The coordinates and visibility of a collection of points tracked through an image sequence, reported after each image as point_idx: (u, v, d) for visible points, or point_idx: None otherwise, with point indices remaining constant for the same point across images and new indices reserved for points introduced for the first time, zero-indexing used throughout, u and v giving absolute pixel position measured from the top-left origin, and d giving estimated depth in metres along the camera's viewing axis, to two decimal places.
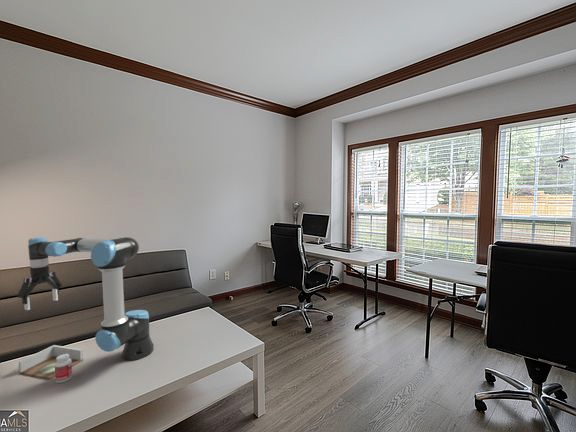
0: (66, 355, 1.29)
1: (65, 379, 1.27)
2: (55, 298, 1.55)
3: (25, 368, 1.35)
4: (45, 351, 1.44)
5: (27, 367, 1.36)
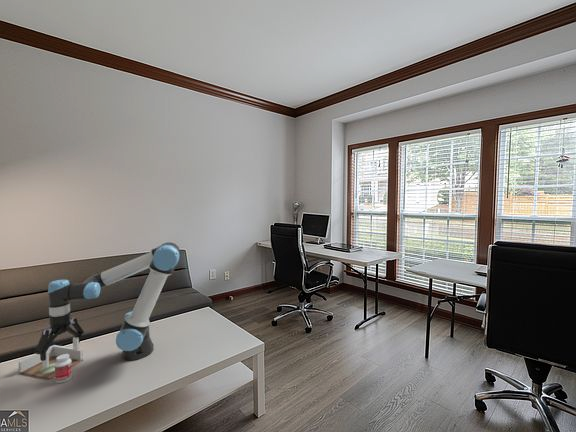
0: (66, 355, 1.29)
1: (65, 379, 1.27)
2: (76, 348, 1.35)
3: (25, 368, 1.35)
4: None
5: (27, 367, 1.36)
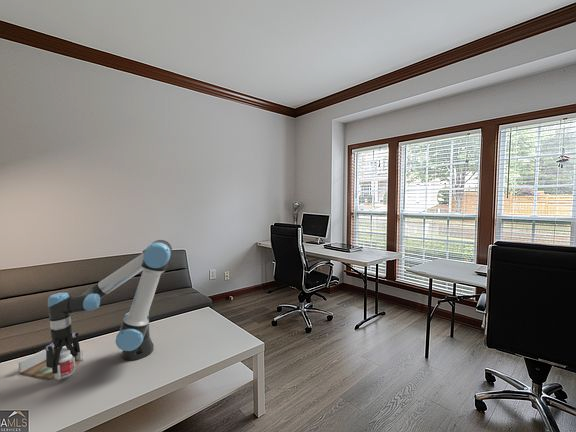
0: (67, 351, 1.29)
1: (67, 375, 1.27)
2: None
3: (25, 368, 1.35)
4: (45, 351, 1.44)
5: (27, 367, 1.36)
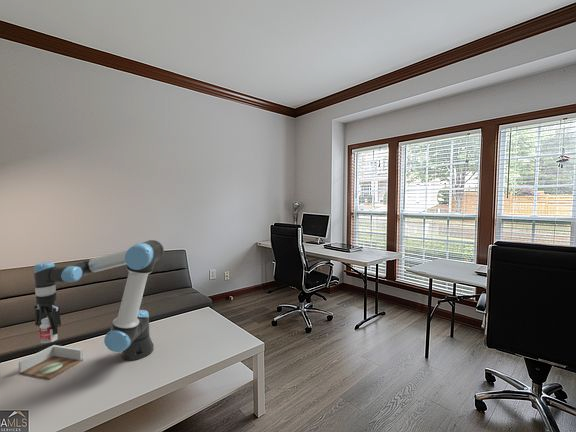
0: (47, 319, 1.34)
1: (40, 340, 1.33)
2: None
3: (25, 368, 1.35)
4: (45, 351, 1.44)
5: (27, 367, 1.36)
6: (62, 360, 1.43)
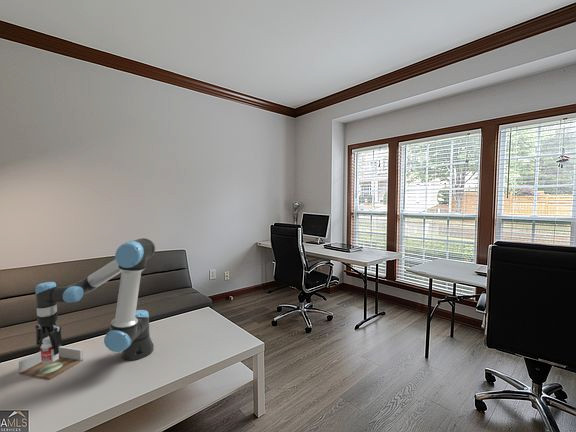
0: (48, 339, 1.35)
1: (41, 360, 1.34)
2: None
3: (25, 368, 1.35)
4: None
5: (27, 367, 1.36)
6: (62, 360, 1.43)
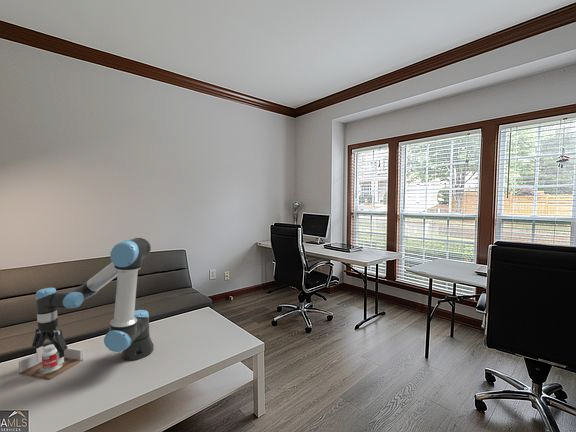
0: (49, 347, 1.35)
1: None
2: None
3: (25, 368, 1.35)
4: None
5: (27, 367, 1.36)
6: None
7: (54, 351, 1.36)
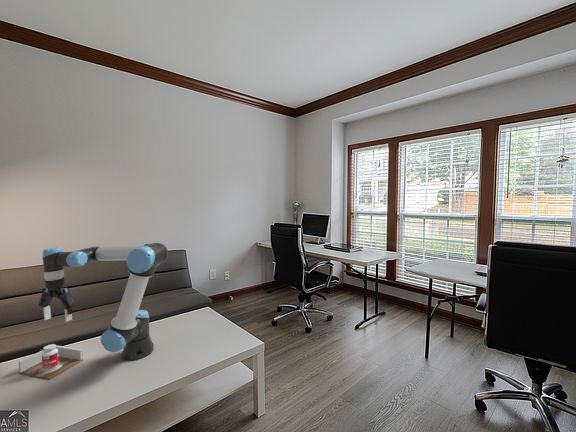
0: (49, 347, 1.35)
1: None
2: None
3: (25, 368, 1.35)
4: None
5: (27, 367, 1.36)
6: (62, 360, 1.43)
7: (54, 351, 1.36)
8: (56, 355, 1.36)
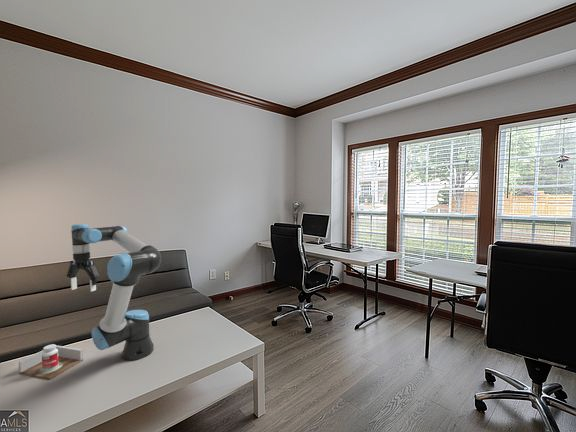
0: (49, 347, 1.35)
1: None
2: None
3: (25, 368, 1.35)
4: None
5: (27, 367, 1.36)
6: (62, 360, 1.43)
7: (54, 351, 1.36)
8: (56, 355, 1.36)
